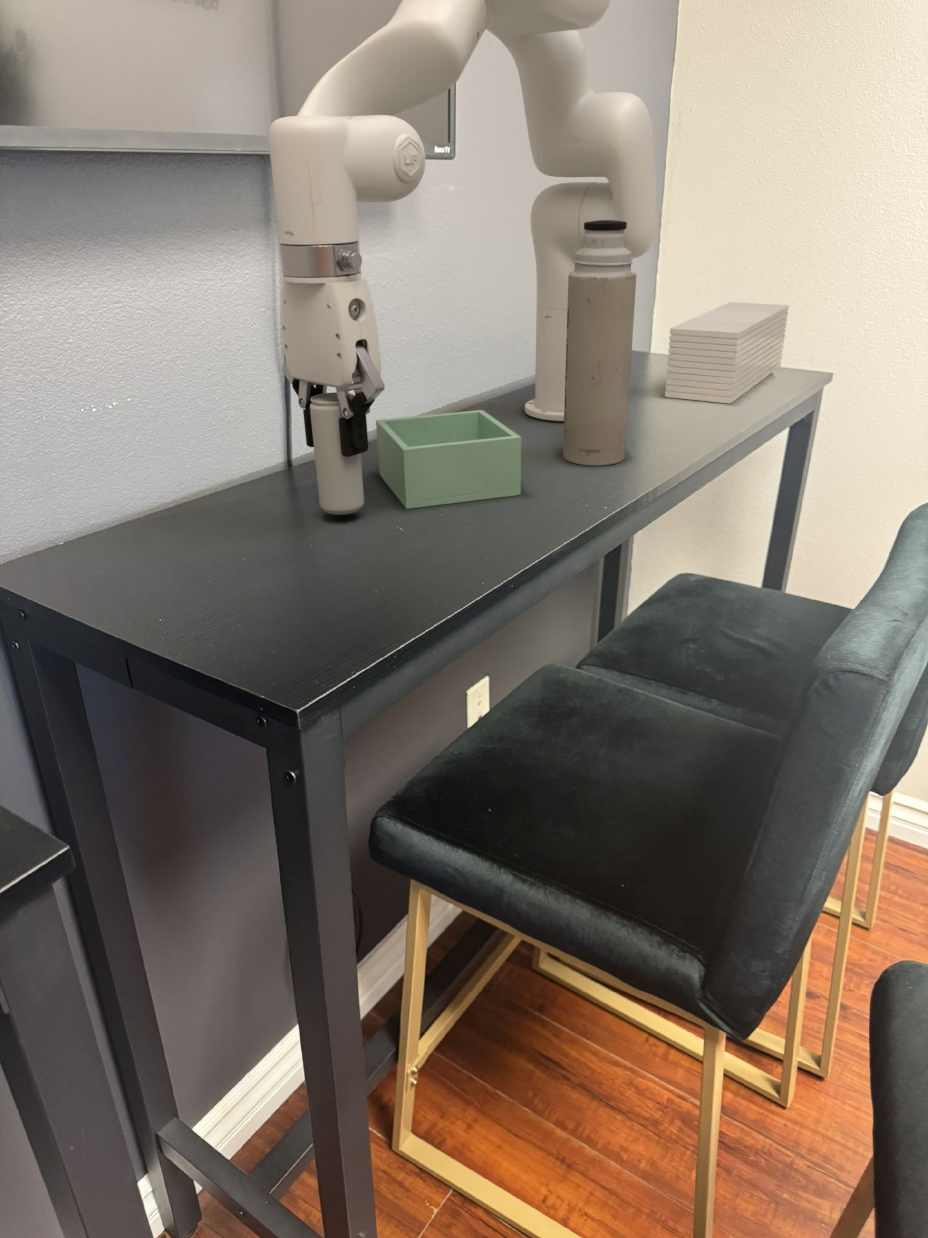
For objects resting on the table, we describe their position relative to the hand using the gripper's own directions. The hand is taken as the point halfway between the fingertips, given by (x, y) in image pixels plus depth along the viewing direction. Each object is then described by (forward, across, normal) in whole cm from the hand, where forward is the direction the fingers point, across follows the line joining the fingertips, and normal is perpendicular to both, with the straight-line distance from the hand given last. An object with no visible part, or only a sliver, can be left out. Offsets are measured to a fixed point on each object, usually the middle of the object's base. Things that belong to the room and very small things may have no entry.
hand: (337, 447), depth 94 cm
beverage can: (+7, 0, 0) cm, 7 cm away
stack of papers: (+8, 0, -87) cm, 87 cm away
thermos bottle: (+8, -8, -36) cm, 37 cm away
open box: (+8, -1, -16) cm, 17 cm away
